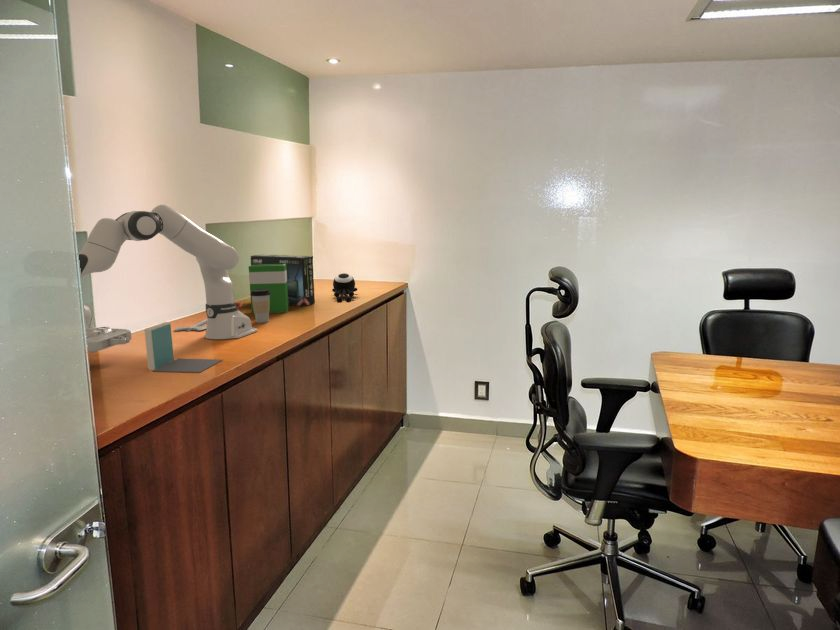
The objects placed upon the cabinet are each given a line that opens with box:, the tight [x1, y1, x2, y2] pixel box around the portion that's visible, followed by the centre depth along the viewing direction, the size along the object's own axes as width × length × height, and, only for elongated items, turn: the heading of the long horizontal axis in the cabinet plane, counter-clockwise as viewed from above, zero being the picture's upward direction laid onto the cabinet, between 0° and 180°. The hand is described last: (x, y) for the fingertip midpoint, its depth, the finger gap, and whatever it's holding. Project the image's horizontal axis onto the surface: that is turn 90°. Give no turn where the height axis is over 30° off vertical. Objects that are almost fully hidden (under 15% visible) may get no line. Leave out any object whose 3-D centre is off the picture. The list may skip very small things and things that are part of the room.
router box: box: [250, 253, 316, 307], centre depth 334 cm, size 36×11×27 cm, turn 66°
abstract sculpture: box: [331, 273, 358, 303], centre depth 352 cm, size 15×19×32 cm
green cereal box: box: [248, 264, 290, 314], centre depth 310 cm, size 18×7×24 cm, turn 94°
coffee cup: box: [249, 289, 271, 324], centre depth 283 cm, size 9×9×15 cm
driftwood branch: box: [174, 318, 207, 332], centre depth 279 cm, size 30×14×2 cm, turn 177°
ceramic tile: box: [144, 321, 175, 371], centre depth 209 cm, size 2×12×14 cm, turn 171°
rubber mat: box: [152, 358, 223, 374], centre depth 208 cm, size 17×16×1 cm
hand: (126, 341), depth 210 cm, fingers closed
